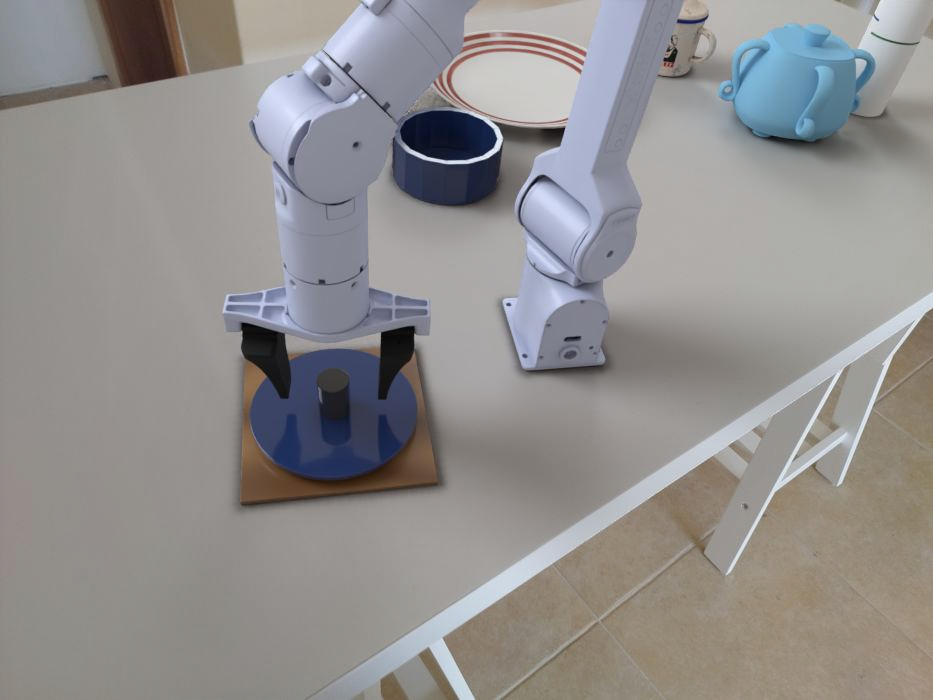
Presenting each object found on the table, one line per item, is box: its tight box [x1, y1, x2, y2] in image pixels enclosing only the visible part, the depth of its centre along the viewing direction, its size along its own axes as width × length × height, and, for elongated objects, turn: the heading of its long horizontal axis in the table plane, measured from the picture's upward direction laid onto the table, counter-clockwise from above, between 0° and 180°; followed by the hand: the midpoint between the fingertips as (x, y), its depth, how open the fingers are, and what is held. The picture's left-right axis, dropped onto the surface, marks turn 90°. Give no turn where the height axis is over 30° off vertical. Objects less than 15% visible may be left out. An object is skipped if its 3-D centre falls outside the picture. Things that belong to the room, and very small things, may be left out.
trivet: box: [239, 347, 439, 505], centre depth 62 cm, size 15×15×1 cm
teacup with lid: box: [658, 0, 717, 77], centre depth 111 cm, size 12×9×12 cm
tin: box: [391, 106, 505, 206], centre depth 87 cm, size 13×13×5 cm
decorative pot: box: [717, 22, 876, 142], centre depth 100 cm, size 16×16×14 cm
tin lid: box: [250, 348, 418, 481], centre depth 60 cm, size 14×14×5 cm
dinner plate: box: [429, 29, 588, 130], centre depth 103 cm, size 27×27×3 cm
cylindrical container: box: [851, 0, 933, 118], centre depth 103 cm, size 7×7×25 cm
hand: (334, 389), depth 59 cm, fingers open, 7 cm apart
